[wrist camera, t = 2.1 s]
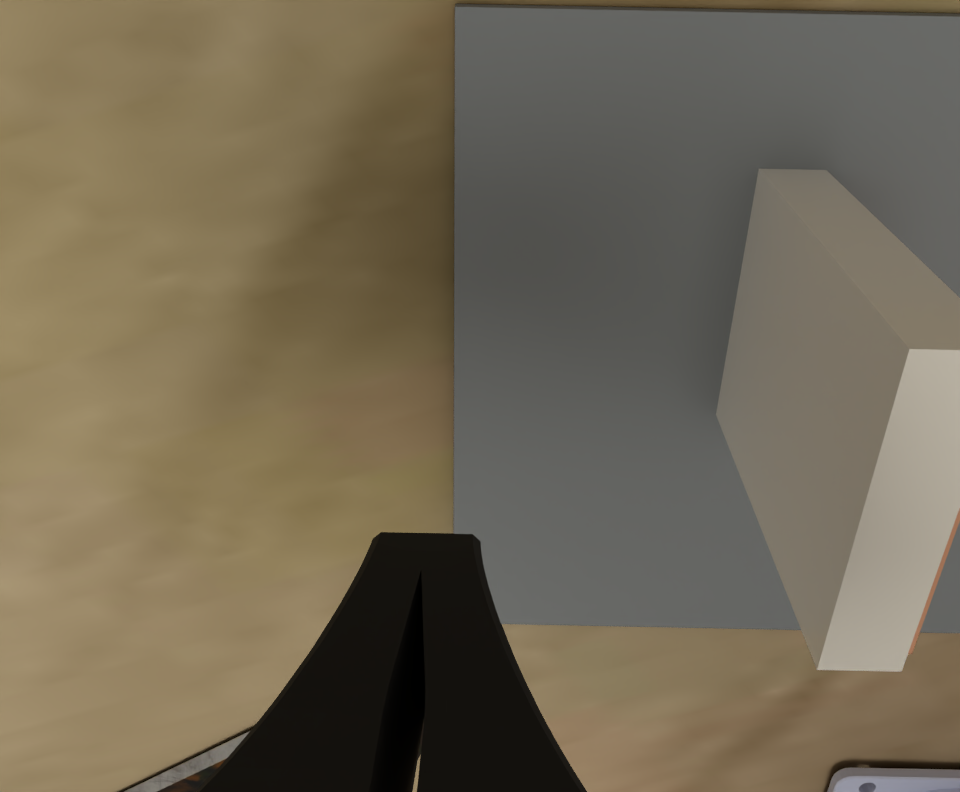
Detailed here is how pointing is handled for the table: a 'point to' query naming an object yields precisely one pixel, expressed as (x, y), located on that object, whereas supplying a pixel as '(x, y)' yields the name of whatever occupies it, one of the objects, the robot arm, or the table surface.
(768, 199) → the tile
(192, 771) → the dark ornate flat tool
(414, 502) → the table surface
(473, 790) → the robot arm
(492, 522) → the mat
